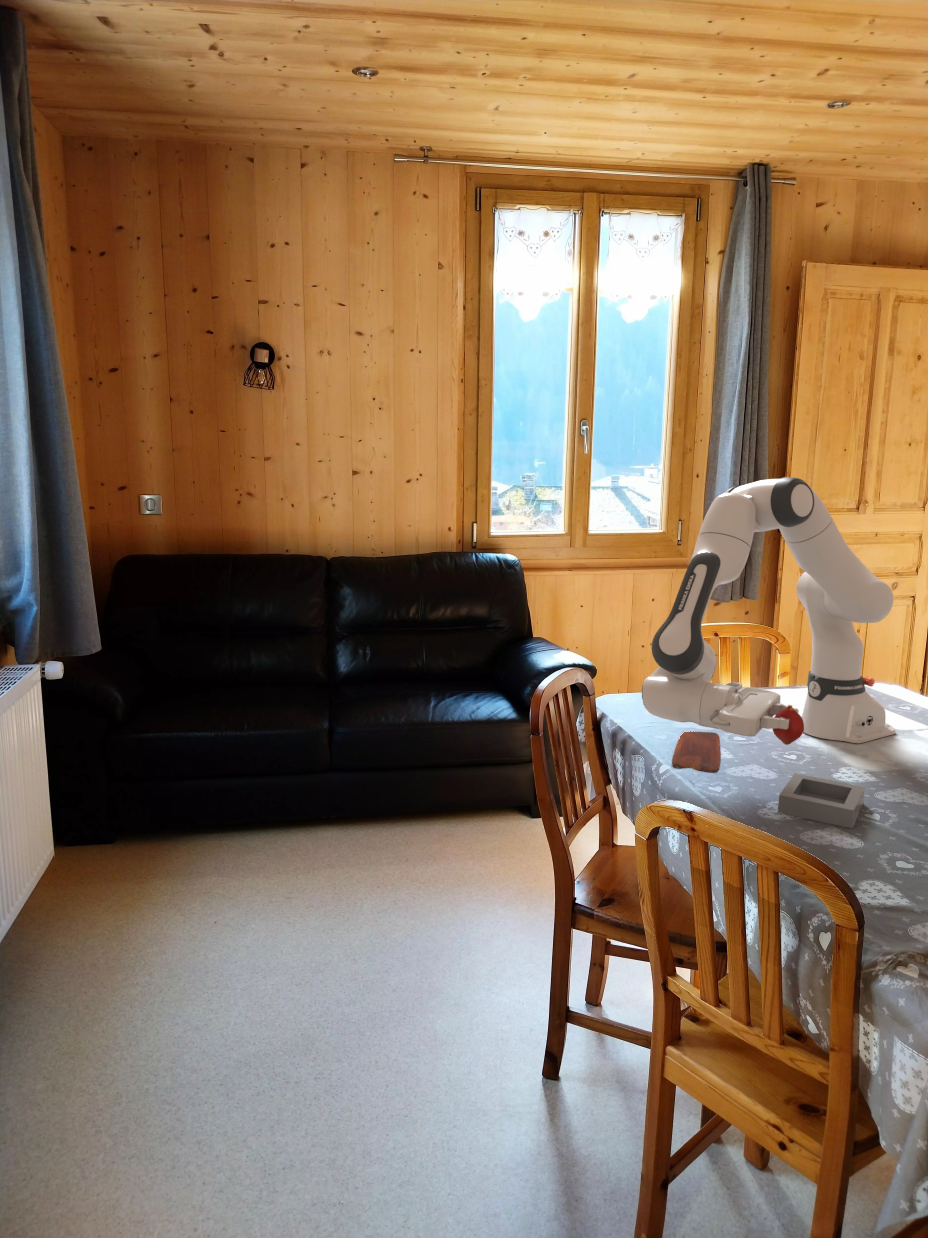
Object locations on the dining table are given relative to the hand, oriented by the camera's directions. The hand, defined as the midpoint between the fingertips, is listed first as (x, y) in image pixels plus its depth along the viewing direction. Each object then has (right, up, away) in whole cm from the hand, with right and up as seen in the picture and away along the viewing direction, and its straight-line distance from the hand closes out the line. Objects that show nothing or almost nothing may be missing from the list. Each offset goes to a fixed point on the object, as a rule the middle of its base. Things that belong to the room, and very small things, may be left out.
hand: (793, 719), depth 168 cm
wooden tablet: (-10, -11, +31) cm, 35 cm away
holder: (+5, -17, 0) cm, 18 cm away
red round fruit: (-1, -5, +2) cm, 6 cm away
